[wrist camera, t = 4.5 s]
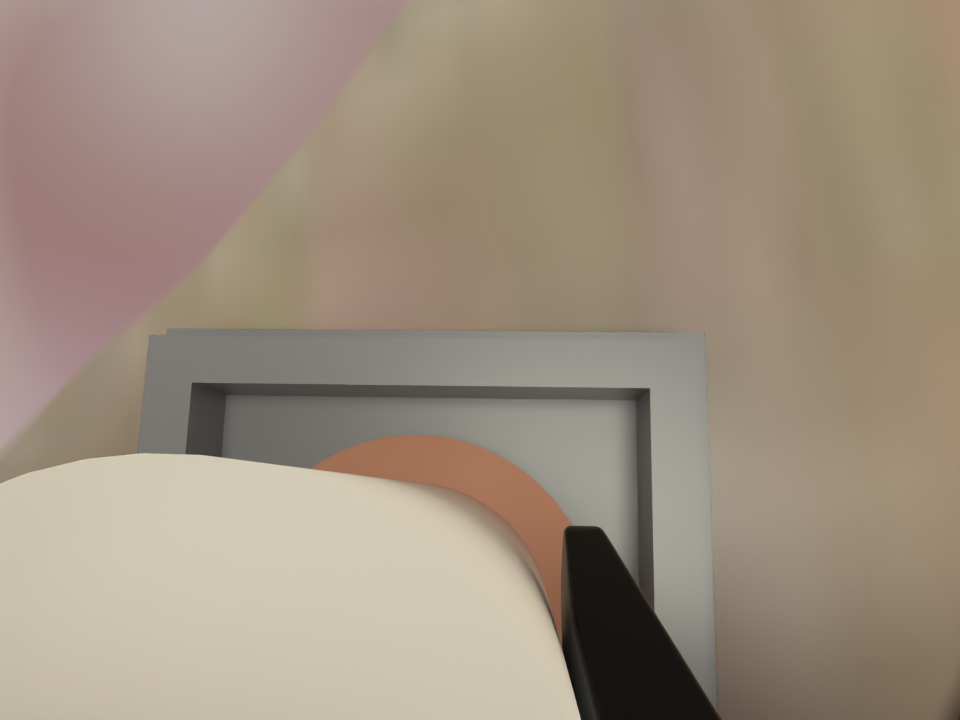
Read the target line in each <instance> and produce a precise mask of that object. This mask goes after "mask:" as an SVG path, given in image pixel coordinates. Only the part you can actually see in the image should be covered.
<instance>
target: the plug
mask: <svg viewBox="0 0 960 720" xmlns="http://www.w3.org/2000/svg"><path fill="white" fill-rule="evenodd" d="M568 526H572V524H571V522H570V520H569V519H568V518H567V516H566V515H565V514H564V512H563V511H562V509H561V508H560V507H559V505H558V504H557V503H556V501H555V500H554V499H553V498H552V497H551V496H550V495H549V494H548V493H547V492H546V491H545V490H544V489H543V488H542V486H541V485H540V484H539V483H537V482H536V481H535V480H534V479H533V478H531V477H530V476H529V475H528V474H526V473H525V472H524V471H523V470H522V469H520V468H519V467H517V466H515V465H514V464H512V463H511V462H509V461H507V460H506V459H504V458H503V457H501V456H499V455H497V454H495V453H492V452H490V451H488V450H486V449H484V448H481V447H479V446H476V445H473V444H470V443H466V442H463V441H460V440H456V439H451V438H445V437H438V436H431V435H403V436H393V437H385V438H381V439H377V440H372V441H368V442H364V443H361V444H358V445H356V446H353V447H351V448H348V449H345V450H343V451H340V452H338V453H337V454H335V455H333V456H331V457H329V458H327V459H325V460H324V461H322V462H320V463H319V464H317V465H316V466H314V467H313V468H312V469H307V468H299V467H291V466H283V465H276V464H268V463H260V462H252V461H244V460H237V459H229V458H221V457H213V456H206V455H187V454H153V453H140V454H131V455H121V456H111V457H102V458H92V459H84V460H80V461H76V462H71V463H67V464H63V465H59V466H55V467H51V468H46V469H42V470H38V471H34V472H30V473H26V474H24V475H21V476H18V477H16V478H13V479H10V480H8V481H5V482H3V483H0V720H581V718H580V714H579V710H578V707H577V703H576V699H575V696H574V692H573V688H572V685H571V681H570V677H569V673H568V670H567V666H566V662H565V659H564V655H563V651H562V630H561V567H562V548H563V534H564V530H565V528H566V527H568Z"/></svg>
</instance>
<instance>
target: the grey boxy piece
mask: <svg viewBox="0 0 960 720" xmlns="http://www.w3.org/2000/svg"><path fill="white" fill-rule="evenodd" d="M403 435H431V436H438V437H445V438H451V439H456V440H460V441H463V442H466V443H470V444H473V445H476V446H479V447H481V448H484V449H486V450H488V451H490V452H492V453H495V454H497V455H499V456H501V457H503V458H504V459H506V460H507V461H509V462H511V463H512V464H514V465H515V466H517V467H519V468H520V469H522V470H523V471H524V472H525V473H526V474H528V475H529V476H530V477H531V478H533V479H534V480H535V481H536V482H537V483H539V484H540V485H541V486H542V488H543V489H544V490H545V491H546V492H547V493H548V494H549V495H550V496H551V497H552V498H553V499H554V500H555V501H556V503H557V504H558V505H559V507H560V508H561V509H562V511H563V512H564V514H565V515H566V516H567V518H568V519H569V520H570V522H571V524H572V526H597V527H600V528H601V529H602V530H603V531H604V532H605V533H606V535H607V537H608V538H609V540H610V541H611V543H612V545H613V546H614V548H615V549H616V551H617V553H618V554H619V556H620V557H621V559H622V561H623V562H624V564H625V565H626V567H627V569H628V570H629V572H630V573H631V575H632V577H633V578H634V580H635V581H636V583H637V585H638V586H639V588H640V589H641V591H642V593H643V594H644V596H645V597H646V599H647V601H648V602H649V604H650V605H651V607H652V609H653V610H654V612H655V613H656V615H657V617H658V618H659V620H660V621H661V623H662V625H663V626H664V628H665V629H666V631H667V633H668V634H669V636H670V637H671V639H672V641H673V642H674V644H675V645H676V647H677V649H678V650H679V652H680V653H681V655H682V657H683V658H684V660H685V661H686V663H687V665H688V666H689V668H690V669H691V671H692V673H693V674H694V676H695V677H696V679H697V681H698V682H699V684H700V685H701V687H702V689H703V690H704V692H705V693H706V695H707V697H708V698H709V700H710V701H711V703H712V705H713V706H714V708H715V709H716V711H717V713H718V707H717V677H716V648H715V619H714V590H713V560H712V531H711V502H710V473H709V443H708V414H707V385H706V355H705V333H658V332H532V331H407V330H282V329H167V334H166V335H149V345H148V355H147V365H146V374H145V384H144V394H143V404H142V414H141V423H140V433H139V443H138V453H137V454H140V453H153V454H187V455H206V456H213V457H221V458H229V459H237V460H244V461H252V462H260V463H268V464H276V465H283V466H291V467H299V468H307V469H312V468H313V467H314V466H316V465H317V464H319V463H320V462H322V461H324V460H325V459H327V458H329V457H331V456H333V455H335V454H337V453H338V452H340V451H343V450H345V449H348V448H351V447H353V446H356V445H358V444H361V443H364V442H368V441H372V440H377V439H381V438H385V437H393V436H403Z"/></svg>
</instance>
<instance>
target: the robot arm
mask: <svg viewBox="0 0 960 720" xmlns="http://www.w3.org/2000/svg"><path fill="white" fill-rule="evenodd" d="M561 630H562V651H563V655H564V659H565V662H566V666H567V670H568V673H569V677H570V681H571V685H572V688H573V692H574V696H575V699H576V703H577V707H578V710H579V714H580V718H581V720H722V719H721V717H720V716H719V714H718V713H717V711H716V709H715V708H714V706H713V705H712V703H711V701H710V700H709V698H708V697H707V695H706V693H705V692H704V690H703V689H702V687H701V685H700V684H699V682H698V681H697V679H696V677H695V676H694V674H693V673H692V671H691V669H690V668H689V666H688V665H687V663H686V661H685V660H684V658H683V657H682V655H681V653H680V652H679V650H678V649H677V647H676V645H675V644H674V642H673V641H672V639H671V637H670V636H669V634H668V633H667V631H666V629H665V628H664V626H663V625H662V623H661V621H660V620H659V618H658V617H657V615H656V613H655V612H654V610H653V609H652V607H651V605H650V604H649V602H648V601H647V599H646V597H645V596H644V594H643V593H642V591H641V589H640V588H639V586H638V585H637V583H636V581H635V580H634V578H633V577H632V575H631V573H630V572H629V570H628V569H627V567H626V565H625V564H624V562H623V561H622V559H621V557H620V556H619V554H618V553H617V551H616V549H615V548H614V546H613V545H612V543H611V541H610V540H609V538H608V537H607V535H606V533H605V532H604V531H603V530H602V529H601V528H600V527H597V526H568V527H566V528H565V530H564V534H563V548H562V567H561Z"/></svg>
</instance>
